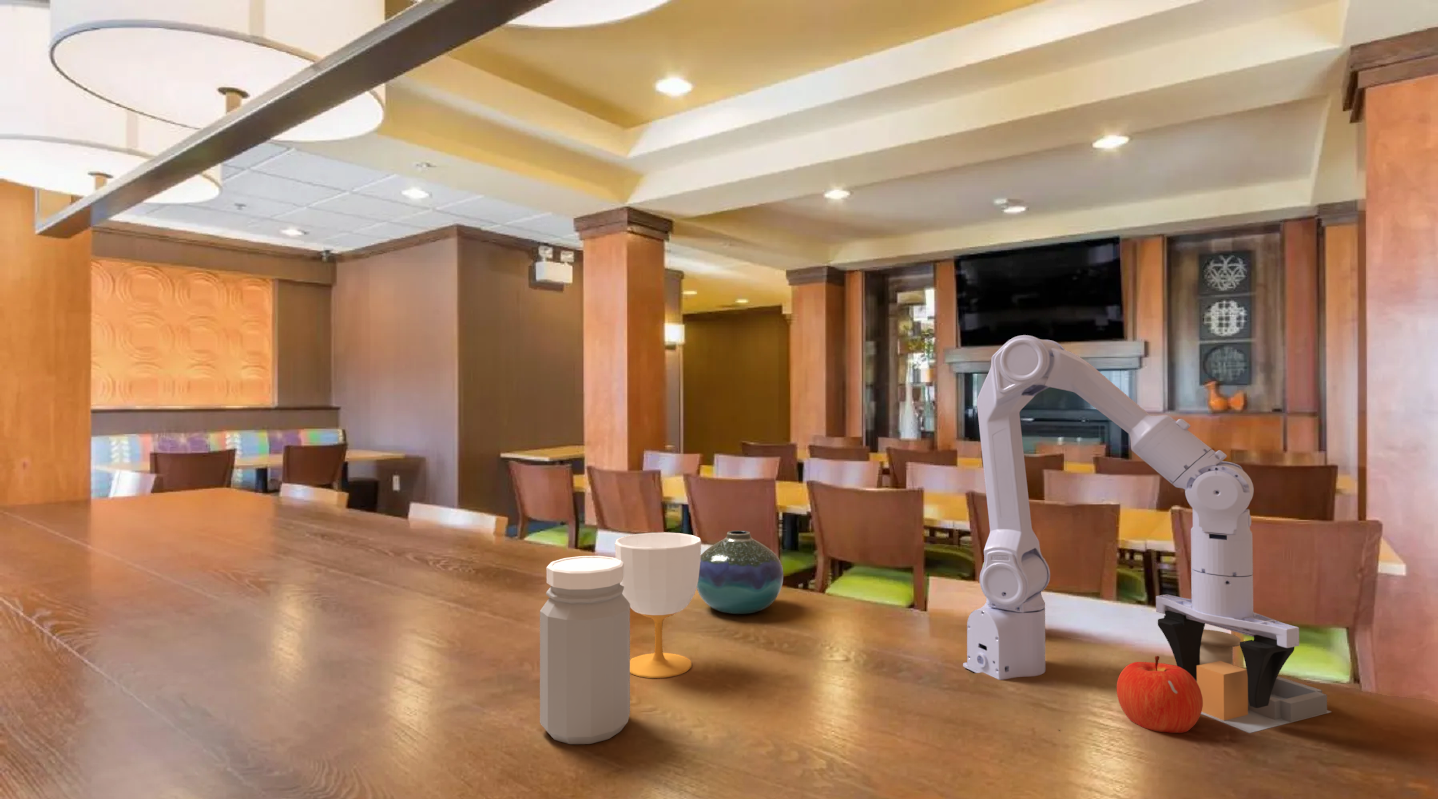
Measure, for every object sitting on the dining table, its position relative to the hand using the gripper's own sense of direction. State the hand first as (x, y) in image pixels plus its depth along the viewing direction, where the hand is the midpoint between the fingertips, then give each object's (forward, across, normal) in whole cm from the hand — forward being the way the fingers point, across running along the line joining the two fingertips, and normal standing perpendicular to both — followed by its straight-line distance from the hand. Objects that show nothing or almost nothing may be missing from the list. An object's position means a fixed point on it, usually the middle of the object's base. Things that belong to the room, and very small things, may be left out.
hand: (1222, 692), depth 82 cm
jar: (+3, +25, +66) cm, 71 cm away
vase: (+3, +61, +32) cm, 69 cm away
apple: (+3, +1, +9) cm, 9 cm away
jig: (+3, +3, -4) cm, 6 cm away
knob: (+3, +6, -7) cm, 9 cm away
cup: (+3, +40, +54) cm, 67 cm away
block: (+2, 0, 0) cm, 2 cm away
